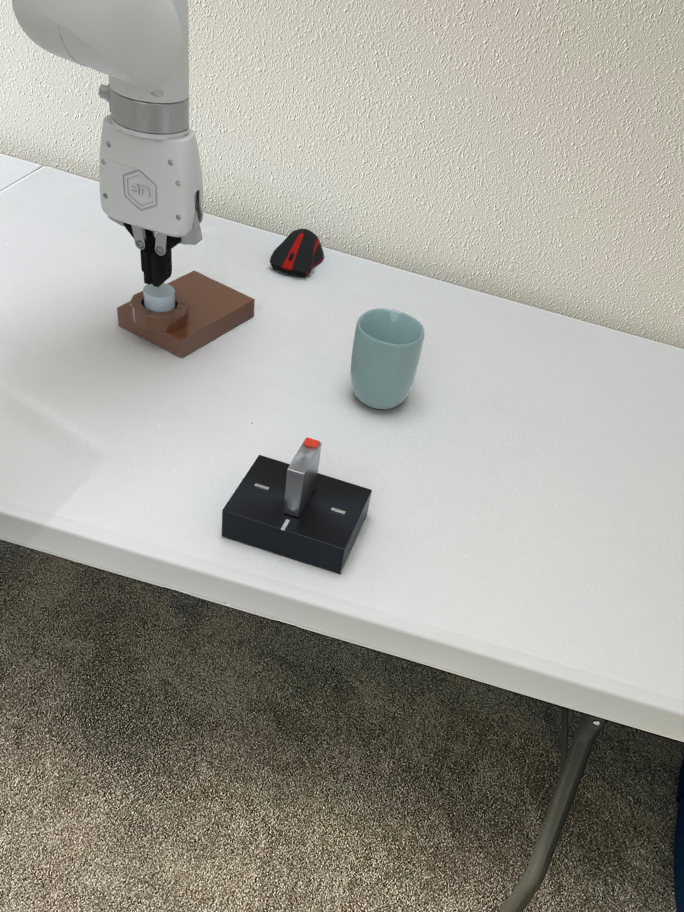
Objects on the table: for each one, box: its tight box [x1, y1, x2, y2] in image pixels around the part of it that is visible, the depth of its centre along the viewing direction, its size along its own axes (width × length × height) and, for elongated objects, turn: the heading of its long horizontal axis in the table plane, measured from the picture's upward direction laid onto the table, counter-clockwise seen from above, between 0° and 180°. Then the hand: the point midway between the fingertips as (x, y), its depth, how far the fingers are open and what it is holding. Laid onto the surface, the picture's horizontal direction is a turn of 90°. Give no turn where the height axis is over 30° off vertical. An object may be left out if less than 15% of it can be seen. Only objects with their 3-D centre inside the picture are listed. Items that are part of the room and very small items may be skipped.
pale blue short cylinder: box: [142, 282, 175, 312], centre depth 93 cm, size 4×4×2 cm
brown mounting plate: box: [116, 270, 256, 359], centre depth 98 cm, size 15×10×4 cm, turn 150°
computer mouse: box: [269, 228, 325, 278], centre depth 115 cm, size 6×11×4 cm, turn 167°
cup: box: [349, 307, 426, 410], centre depth 92 cm, size 8×8×10 cm
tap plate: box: [221, 454, 373, 575], centre depth 76 cm, size 12×9×4 cm
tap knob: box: [283, 436, 323, 518], centre depth 73 cm, size 5×2×6 cm, turn 166°
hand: (157, 280), depth 91 cm, fingers closed
